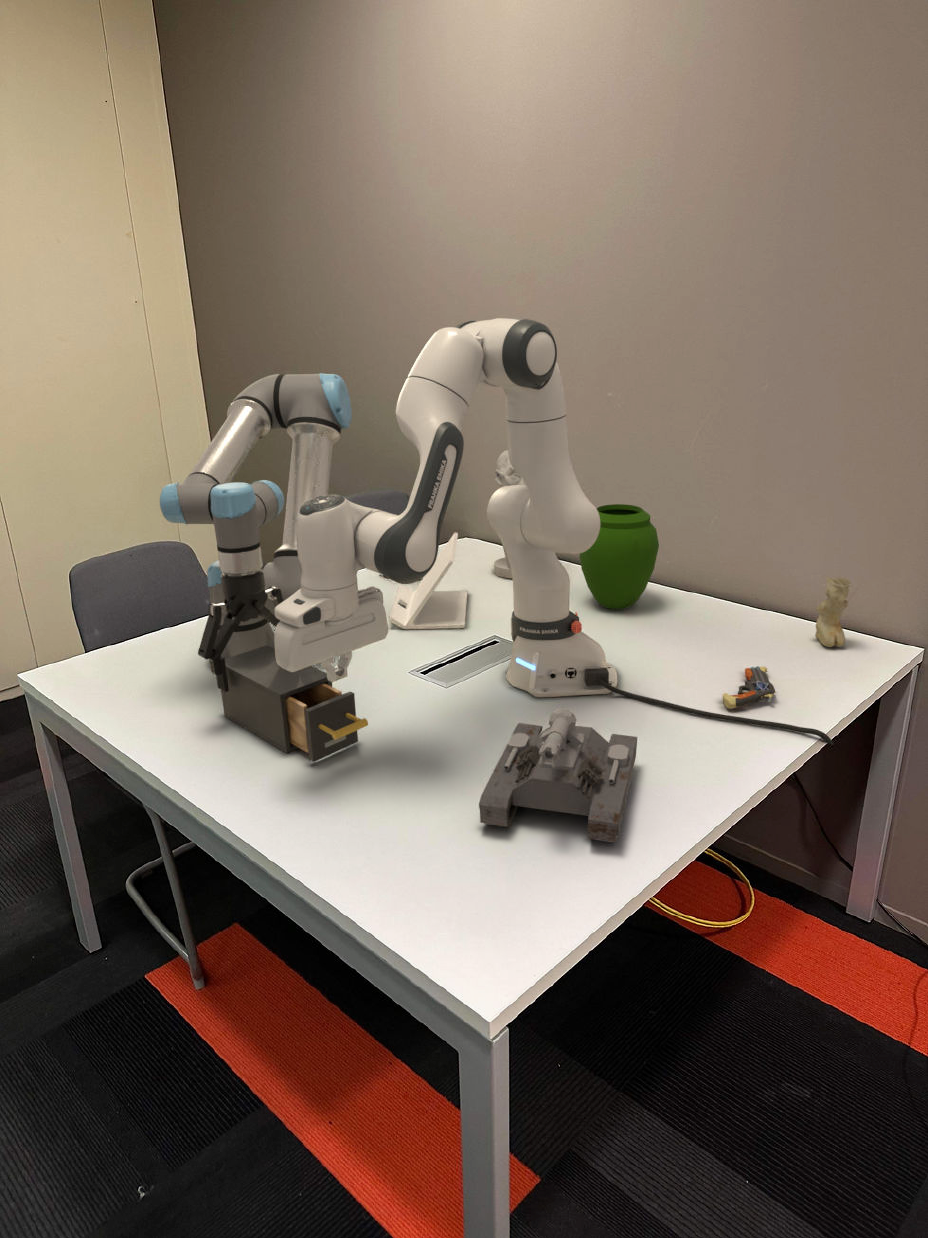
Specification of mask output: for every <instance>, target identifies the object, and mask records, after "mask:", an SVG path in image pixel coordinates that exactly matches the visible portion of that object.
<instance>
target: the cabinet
mask: <svg viewBox="0 0 928 1238" xmlns="http://www.w3.org/2000/svg"><path fill="white" fill-rule="evenodd" d="M225 665H226V672H227V680H228V687H229V691H227V692H224V691H223V690H221V689H220V694H221V700H222V701H221V702H222V707H223V708H222V709H223V713H224V717H225V718H227V719H228V720H230V721H232V722H233V723H235V724H237V725H239V726H240V727H242V728H244V729H245V730H247V731H249V732H250V733H251V734H253V735H255V736H257V737H258V738H259V739H261V740H263V741H265V742H267V743H269V744H270V745H271V746H273V747H275V748H277V749H278V750H280V751H282V752H284V753H285V754H289V753H291V752H295V751H296V750H298V749H299V748H298V747H297V746H295V745H293V744H291V743H290V740H289V731H288V722H287V713H286V705H285V697H288V696H291V695H293V694H296V693H298V692H301V691H304V690H306V689H309V688H311V687H314V686H317V685H319V684H322V683H325V684H327V685H329V686H331V687H333V682H331V681H329V680H328V679H327V672H325V671H323V670H321V669H319V668H316V667H315V666H313V665H312V666H309V667H306V668H303V669H301V670H298V671H295V672H289V671H287V670H285V669H283V668H282V667H280V666H279V665H278V664H277V662H276V657H275V649H273V648H271V647H269V646H267V645H266V646H263V647H260V648H257V649H254V650H251V651H248V652H245V653H242V654H239V655H236V656H233V657H230V658H227V659H225Z"/></svg>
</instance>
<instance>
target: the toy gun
mask: <svg viewBox="0 0 928 1238" xmlns="http://www.w3.org/2000/svg"><path fill="white" fill-rule="evenodd" d="M768 670H769V669H768V667H766V666H758V665H756V666H751V667H746V668H744V674H745V679H746V680H744V685H739V686H738V691H737V694H729V693H726V692H724V693H722V701H723V705H724V706H725V708H726V709H728V710H733V709H736V708H740V707H744V706H746V705H749V704H752V703H757V702H759V701H762V700H764V699H766V698H769V699H772V698H773V696H774V694H777V693H778V692H777V691H776V689H775V687H774V685H773V683H772V682H770V680H769V678H768V675H767V673H768V672H769V671H768Z"/></svg>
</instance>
